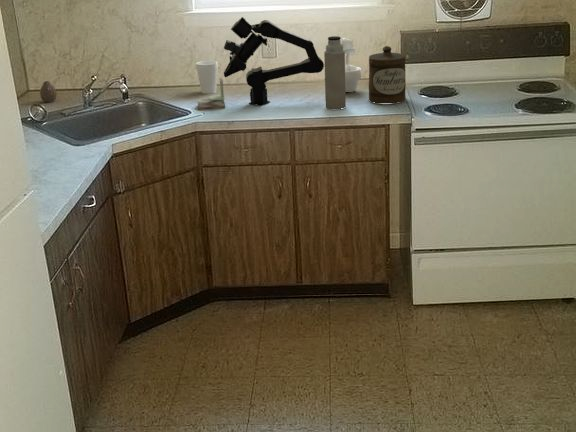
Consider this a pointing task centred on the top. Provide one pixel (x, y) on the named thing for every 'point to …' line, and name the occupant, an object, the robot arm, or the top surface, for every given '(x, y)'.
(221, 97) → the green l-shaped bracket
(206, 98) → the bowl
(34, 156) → the top surface
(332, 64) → the thermos bottle
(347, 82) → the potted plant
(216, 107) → the station
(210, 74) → the foam cup
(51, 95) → the avocado
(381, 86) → the wooden container
